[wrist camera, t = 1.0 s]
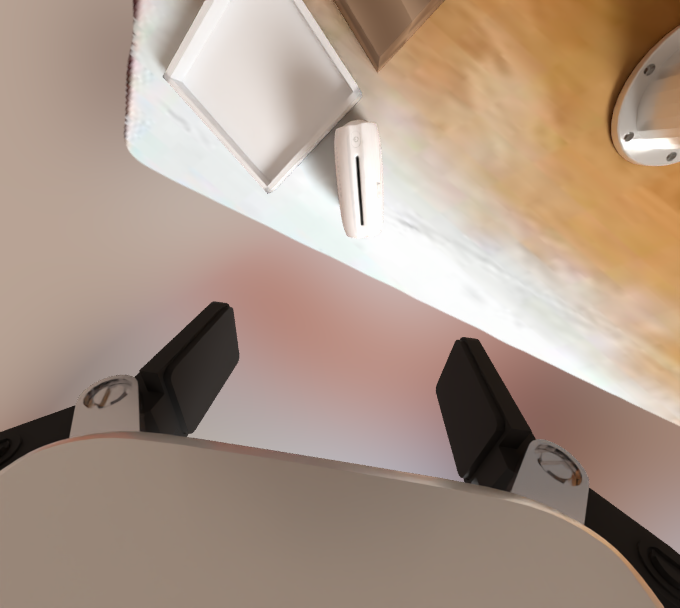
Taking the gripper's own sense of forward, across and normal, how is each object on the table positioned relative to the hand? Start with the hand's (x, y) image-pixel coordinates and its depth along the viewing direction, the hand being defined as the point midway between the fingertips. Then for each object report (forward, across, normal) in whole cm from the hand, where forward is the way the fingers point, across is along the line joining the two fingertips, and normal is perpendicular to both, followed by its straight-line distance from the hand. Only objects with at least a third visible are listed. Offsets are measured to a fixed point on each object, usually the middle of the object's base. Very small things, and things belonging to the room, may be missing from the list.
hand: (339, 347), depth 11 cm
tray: (+28, +12, -12) cm, 33 cm away
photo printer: (+28, 0, -4) cm, 28 cm away
